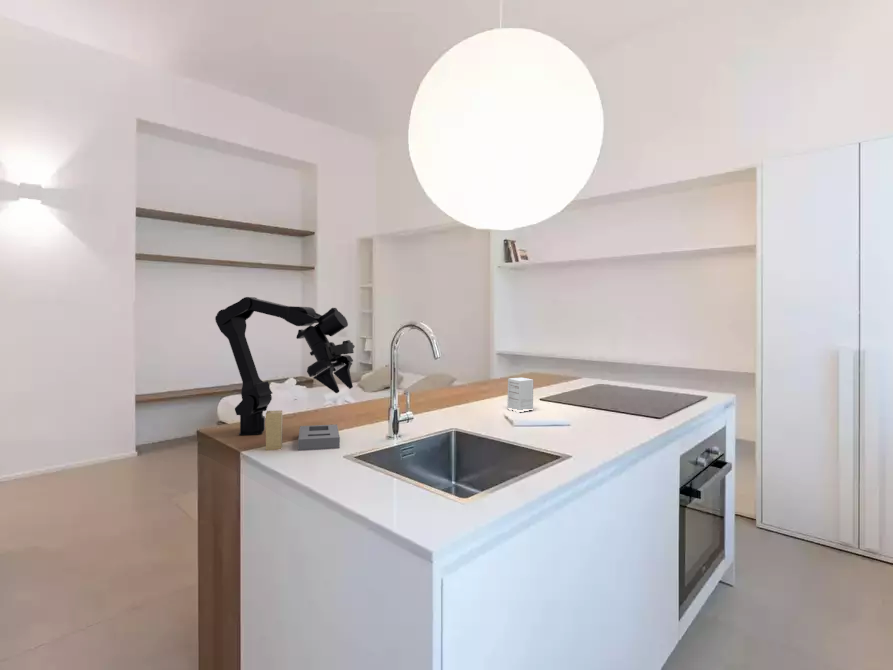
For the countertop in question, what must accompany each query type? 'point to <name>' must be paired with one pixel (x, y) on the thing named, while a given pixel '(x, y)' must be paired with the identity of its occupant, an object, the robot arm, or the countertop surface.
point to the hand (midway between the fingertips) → (344, 390)
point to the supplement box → (520, 393)
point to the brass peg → (273, 430)
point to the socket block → (318, 437)
